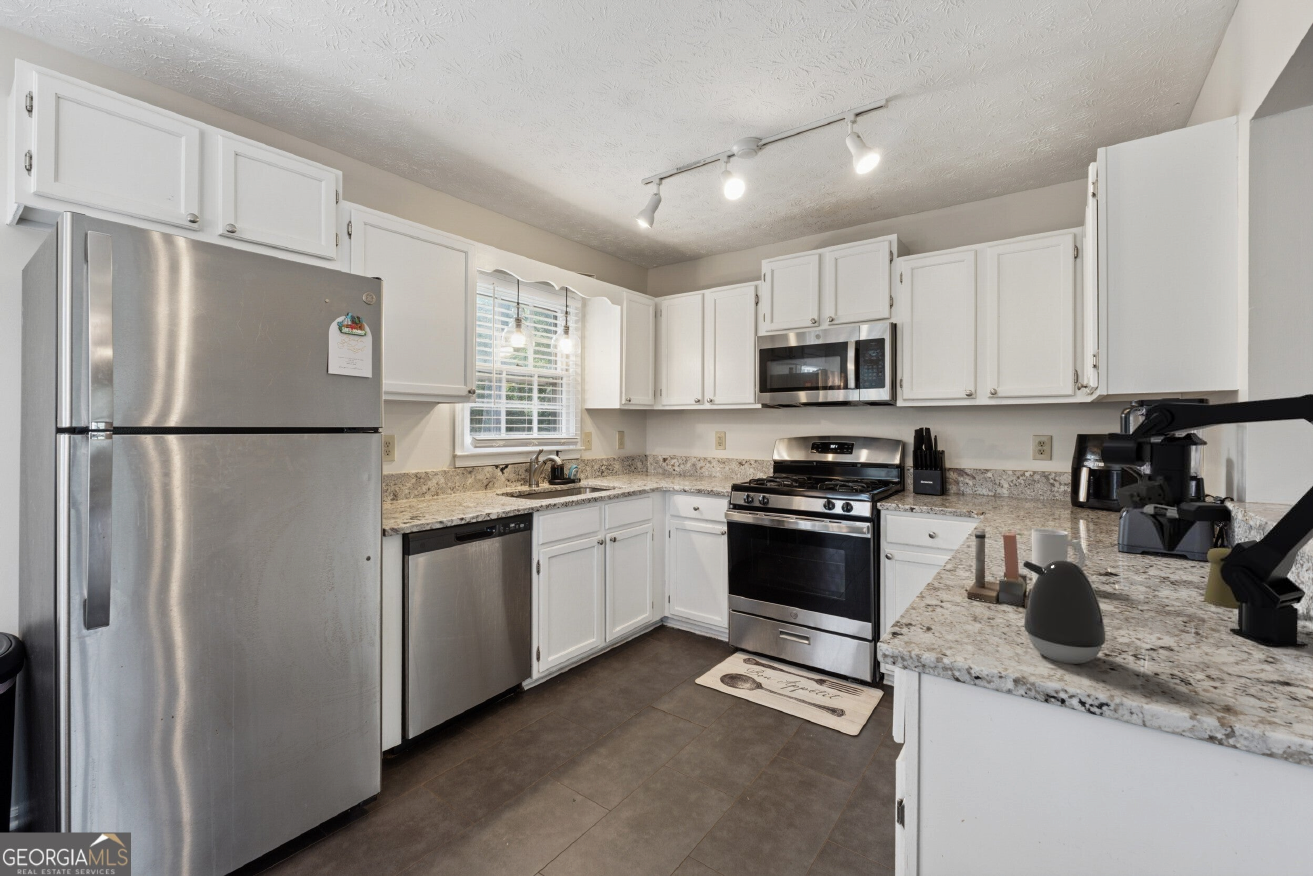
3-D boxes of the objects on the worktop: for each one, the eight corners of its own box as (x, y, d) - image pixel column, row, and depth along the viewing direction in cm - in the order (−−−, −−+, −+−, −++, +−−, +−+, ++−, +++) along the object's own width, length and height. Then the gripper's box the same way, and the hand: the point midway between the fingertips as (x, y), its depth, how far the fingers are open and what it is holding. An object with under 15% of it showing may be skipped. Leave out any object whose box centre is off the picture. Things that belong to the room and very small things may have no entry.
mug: (1025, 583, 126) (1026, 530, 126) (1039, 578, 130) (1039, 527, 129) (1078, 594, 118) (1078, 538, 117) (1090, 588, 121) (1091, 534, 121)
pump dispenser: (1026, 639, 94) (1026, 550, 93) (1105, 654, 87) (1106, 559, 87) (1018, 659, 86) (1019, 562, 86) (1104, 677, 79) (1105, 572, 79)
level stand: (1059, 599, 115) (1059, 534, 114) (1055, 613, 106) (1056, 543, 106) (976, 586, 124) (976, 526, 124) (967, 598, 115) (967, 534, 115)
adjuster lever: (1026, 595, 115) (1022, 533, 115) (1024, 600, 112) (1019, 536, 112) (1003, 593, 118) (999, 532, 118) (1001, 597, 115) (997, 535, 115)
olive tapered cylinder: (1227, 599, 113) (1228, 545, 113) (1256, 609, 107) (1257, 552, 107) (1195, 598, 114) (1195, 545, 114) (1222, 608, 108) (1223, 552, 108)
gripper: (1090, 465, 114) (1089, 540, 115) (1165, 473, 96) (1164, 563, 96) (1147, 465, 113) (1146, 541, 114) (1235, 473, 95) (1233, 564, 95)
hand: (1169, 551), depth 105 cm, fingers closed
